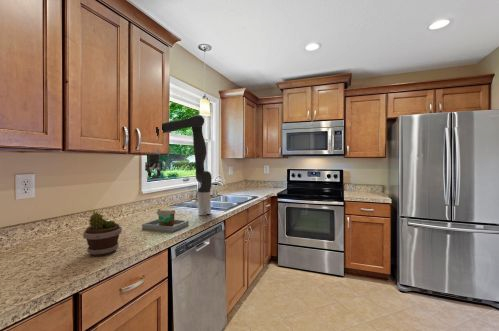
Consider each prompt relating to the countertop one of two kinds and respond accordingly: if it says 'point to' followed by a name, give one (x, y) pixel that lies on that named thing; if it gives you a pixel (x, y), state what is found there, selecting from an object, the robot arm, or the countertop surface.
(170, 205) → the countertop surface
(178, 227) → the tray
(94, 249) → the flowerpot
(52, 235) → the countertop surface
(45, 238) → the countertop surface
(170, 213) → the food container
